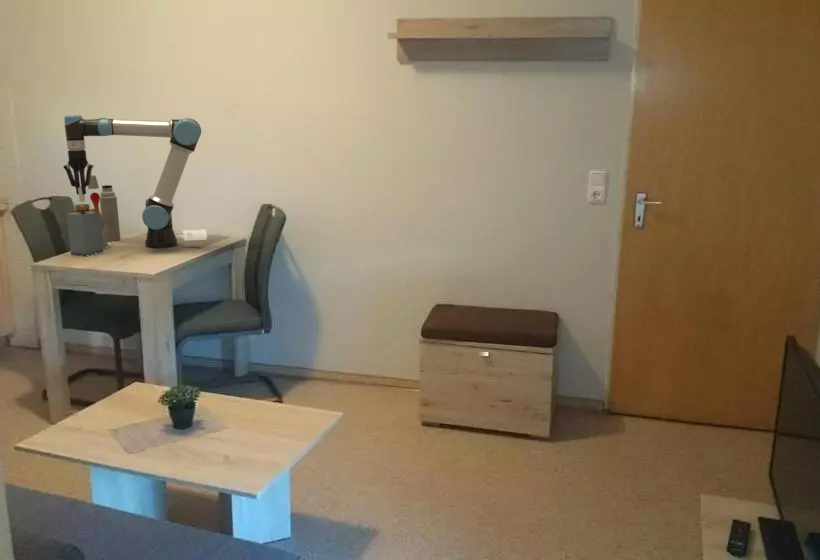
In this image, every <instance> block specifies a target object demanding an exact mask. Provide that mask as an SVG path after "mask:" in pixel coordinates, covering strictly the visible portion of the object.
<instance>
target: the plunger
mask: <svg viewBox="0 0 820 560" xmlns="http://www.w3.org/2000/svg"><path fill="white" fill-rule="evenodd" d="M74 207H75V212H81V214H85V212H89V211H90V210H91V209H90V204H89V203H80V204H79V203H78V204H75V206H74Z"/></svg>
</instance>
